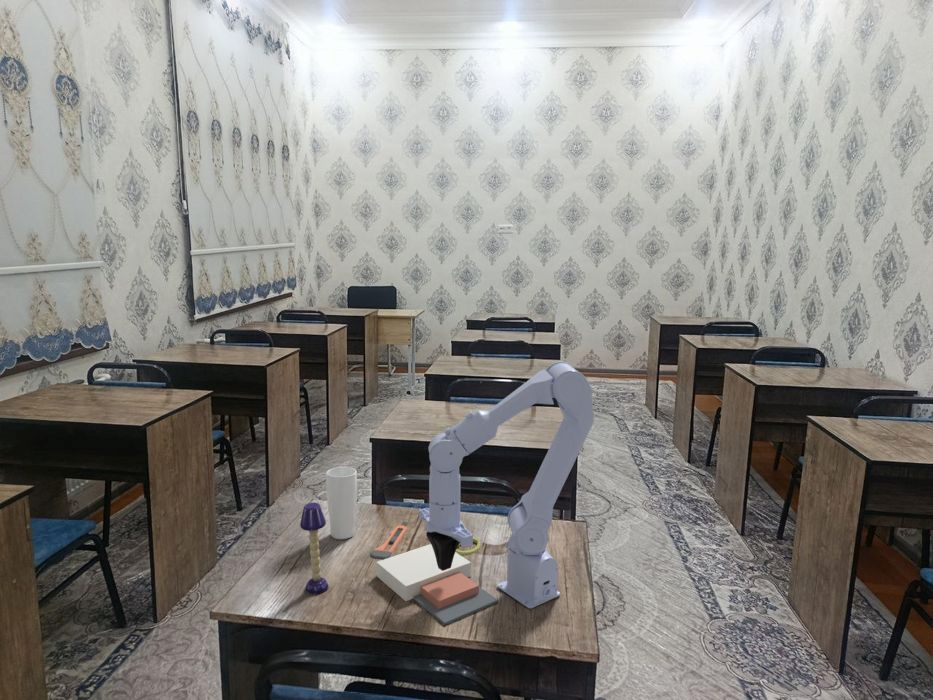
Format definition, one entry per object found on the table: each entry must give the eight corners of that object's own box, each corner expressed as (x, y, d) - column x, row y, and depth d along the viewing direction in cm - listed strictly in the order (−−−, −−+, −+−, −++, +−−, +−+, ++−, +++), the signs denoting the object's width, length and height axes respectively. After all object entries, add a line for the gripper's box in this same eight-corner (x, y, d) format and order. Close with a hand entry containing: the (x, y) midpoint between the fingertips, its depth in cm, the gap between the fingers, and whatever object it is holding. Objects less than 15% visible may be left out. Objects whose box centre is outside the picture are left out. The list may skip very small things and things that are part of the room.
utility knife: (368, 554, 130) (394, 518, 148) (368, 558, 131) (394, 522, 148) (387, 556, 130) (411, 520, 147) (388, 561, 130) (411, 523, 147)
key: (434, 534, 142) (434, 525, 142) (484, 545, 137) (484, 536, 137) (419, 548, 136) (419, 538, 135) (471, 560, 131) (472, 550, 131)
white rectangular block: (470, 576, 123) (470, 562, 123) (405, 601, 114) (405, 586, 114) (439, 554, 132) (439, 541, 132) (376, 576, 123) (376, 561, 123)
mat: (498, 602, 114) (498, 599, 114) (444, 625, 107) (444, 622, 107) (465, 579, 122) (465, 576, 122) (413, 599, 115) (413, 596, 115)
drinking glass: (321, 539, 138) (319, 475, 136) (336, 526, 144) (335, 464, 142) (349, 544, 136) (348, 478, 134) (363, 530, 142) (362, 468, 140)
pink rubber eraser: (478, 593, 117) (478, 585, 116) (438, 608, 111) (438, 601, 111) (460, 579, 121) (460, 572, 121) (420, 593, 116) (420, 586, 116)
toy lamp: (302, 596, 116) (299, 511, 113) (302, 583, 120) (299, 501, 117) (329, 592, 117) (326, 508, 114) (327, 580, 121) (325, 498, 119)
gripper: (405, 491, 118) (406, 558, 120) (450, 518, 107) (449, 591, 109) (436, 483, 122) (436, 548, 124) (482, 508, 111) (481, 579, 113)
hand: (444, 567), depth 117 cm, fingers closed
